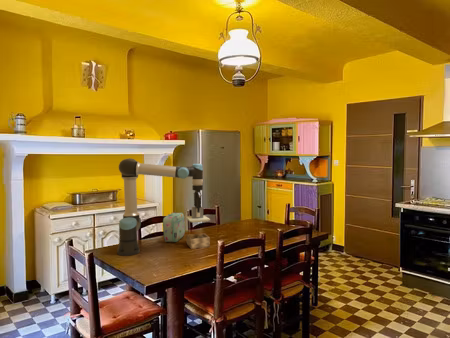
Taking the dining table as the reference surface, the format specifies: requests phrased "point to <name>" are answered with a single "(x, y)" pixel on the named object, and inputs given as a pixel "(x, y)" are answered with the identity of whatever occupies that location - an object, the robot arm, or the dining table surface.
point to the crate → (198, 241)
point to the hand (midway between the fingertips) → (197, 216)
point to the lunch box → (173, 227)
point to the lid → (197, 219)
